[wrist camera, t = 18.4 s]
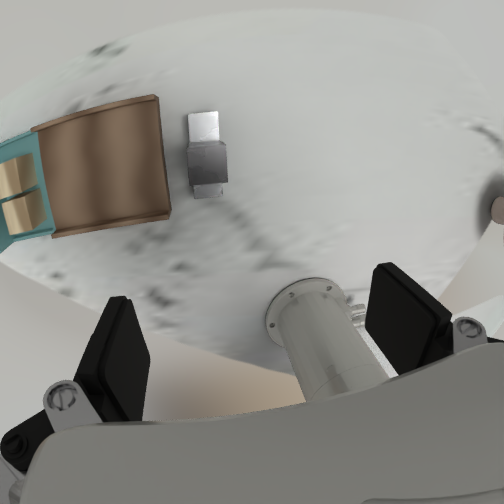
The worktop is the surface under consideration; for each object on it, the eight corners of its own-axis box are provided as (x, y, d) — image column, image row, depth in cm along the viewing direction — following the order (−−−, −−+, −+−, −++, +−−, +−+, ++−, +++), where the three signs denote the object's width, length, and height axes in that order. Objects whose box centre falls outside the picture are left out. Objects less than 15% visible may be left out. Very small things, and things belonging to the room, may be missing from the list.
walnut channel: (158, 97, 27) (153, 94, 24) (171, 209, 32) (168, 219, 29) (45, 126, 25) (30, 128, 22) (63, 227, 30) (52, 238, 27)
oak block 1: (15, 157, 22) (-8, 167, 21) (21, 192, 23) (-1, 199, 23) (32, 152, 25) (10, 161, 25) (38, 183, 27) (15, 191, 27)
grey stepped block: (216, 112, 29) (224, 106, 20) (221, 190, 32) (230, 218, 24) (188, 114, 28) (183, 110, 19) (194, 193, 32) (193, 222, 23)
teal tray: (43, 127, 25) (21, 130, 20) (61, 228, 30) (44, 244, 26) (-3, 146, 24) (-25, 151, 19) (17, 237, 29) (-2, 253, 25)
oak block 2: (24, 196, 24) (1, 203, 23) (32, 229, 25) (9, 235, 25) (40, 187, 27) (18, 194, 27) (47, 218, 29) (25, 223, 28)
